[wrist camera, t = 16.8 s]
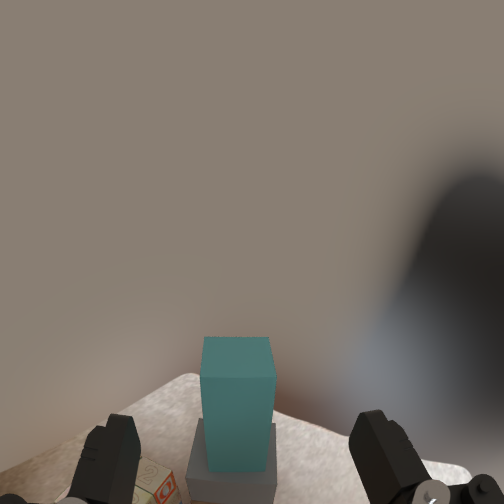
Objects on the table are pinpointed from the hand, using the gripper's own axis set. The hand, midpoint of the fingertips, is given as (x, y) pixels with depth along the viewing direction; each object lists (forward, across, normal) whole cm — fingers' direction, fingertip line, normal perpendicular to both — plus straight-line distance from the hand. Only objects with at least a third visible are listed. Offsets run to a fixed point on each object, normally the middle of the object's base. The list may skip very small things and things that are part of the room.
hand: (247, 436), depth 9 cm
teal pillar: (+11, -1, +17) cm, 20 cm away
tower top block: (+11, 0, +22) cm, 24 cm away
